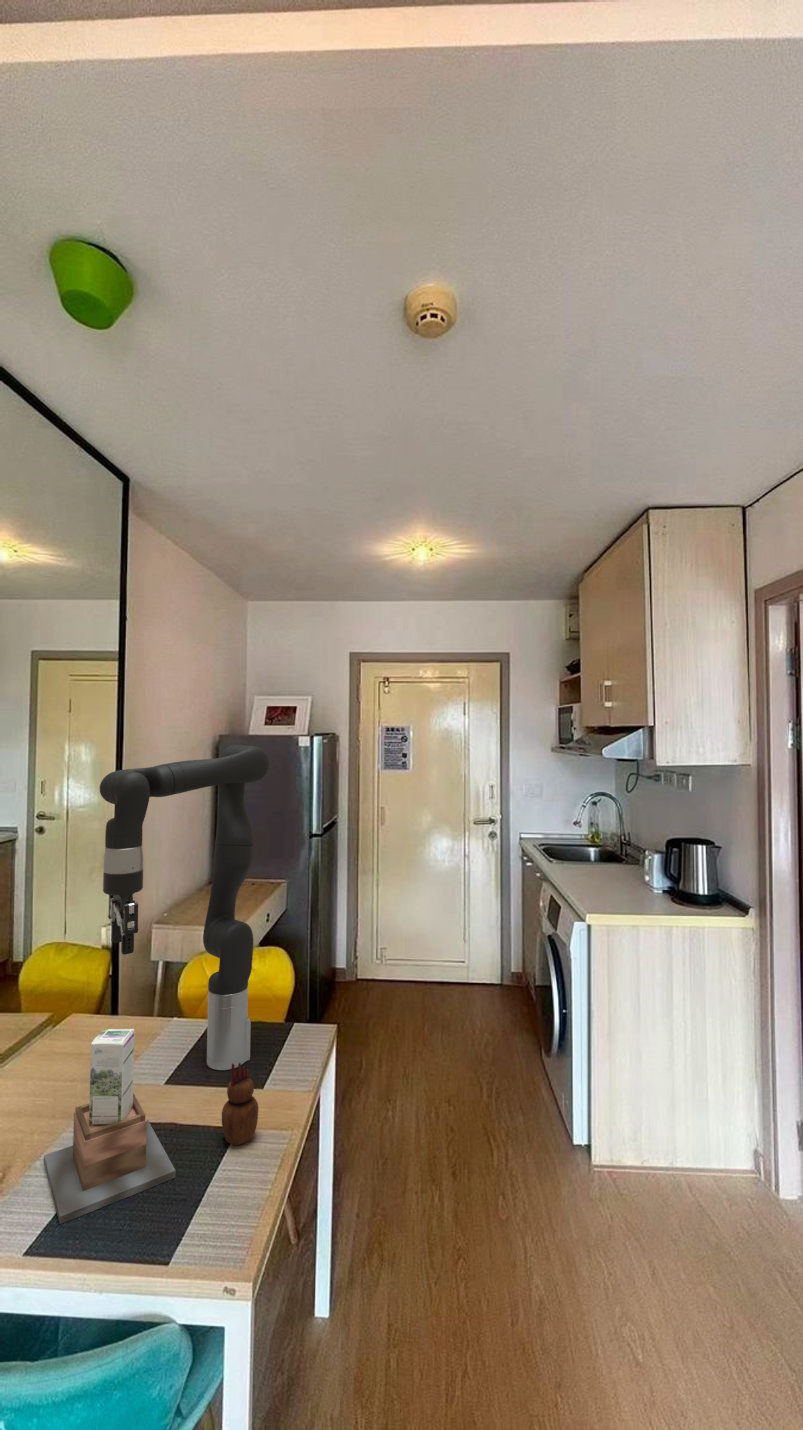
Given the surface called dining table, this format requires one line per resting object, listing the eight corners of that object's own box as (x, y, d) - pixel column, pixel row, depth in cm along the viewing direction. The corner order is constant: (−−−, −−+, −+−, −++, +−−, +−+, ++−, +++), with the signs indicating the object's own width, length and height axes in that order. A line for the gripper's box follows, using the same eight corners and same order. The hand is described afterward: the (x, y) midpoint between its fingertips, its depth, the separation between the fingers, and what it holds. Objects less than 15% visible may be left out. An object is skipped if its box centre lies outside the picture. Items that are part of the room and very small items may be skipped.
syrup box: (133, 1107, 115) (135, 1026, 115) (120, 1127, 109) (123, 1042, 109) (102, 1107, 114) (104, 1027, 115) (87, 1128, 109) (89, 1042, 109)
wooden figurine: (224, 1153, 116) (226, 1071, 117) (218, 1136, 121) (220, 1057, 122) (261, 1143, 119) (262, 1063, 120) (253, 1126, 124) (254, 1049, 125)
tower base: (147, 1126, 124) (148, 1073, 124) (175, 1177, 110) (176, 1118, 110) (44, 1162, 113) (45, 1104, 114) (59, 1224, 99) (61, 1158, 99)
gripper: (152, 872, 125) (151, 953, 125) (133, 860, 137) (132, 935, 136) (112, 877, 121) (110, 962, 120) (96, 864, 132) (94, 942, 132)
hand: (122, 947), depth 128 cm, fingers open, 8 cm apart
